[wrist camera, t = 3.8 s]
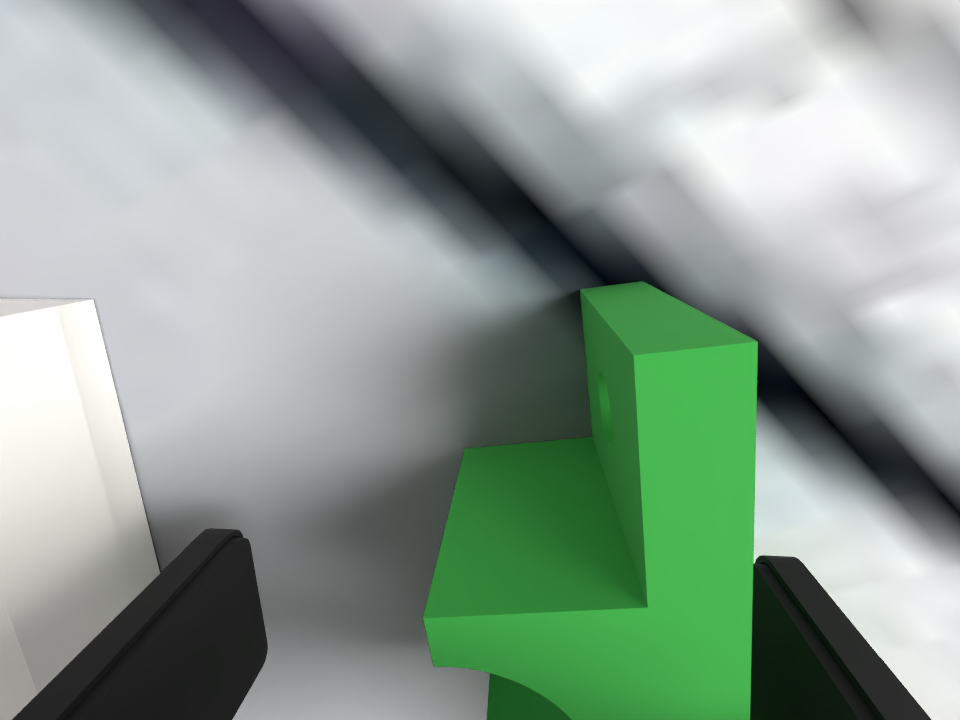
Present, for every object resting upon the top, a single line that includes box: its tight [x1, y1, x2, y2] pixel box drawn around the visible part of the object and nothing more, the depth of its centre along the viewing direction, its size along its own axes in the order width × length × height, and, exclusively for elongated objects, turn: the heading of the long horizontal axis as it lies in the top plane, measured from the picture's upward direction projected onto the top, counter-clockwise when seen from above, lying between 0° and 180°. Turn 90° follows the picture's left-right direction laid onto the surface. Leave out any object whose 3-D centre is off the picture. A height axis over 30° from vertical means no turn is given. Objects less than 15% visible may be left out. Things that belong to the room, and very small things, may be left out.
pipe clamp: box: [423, 281, 758, 720], centre depth 8 cm, size 11×4×5 cm, turn 8°
